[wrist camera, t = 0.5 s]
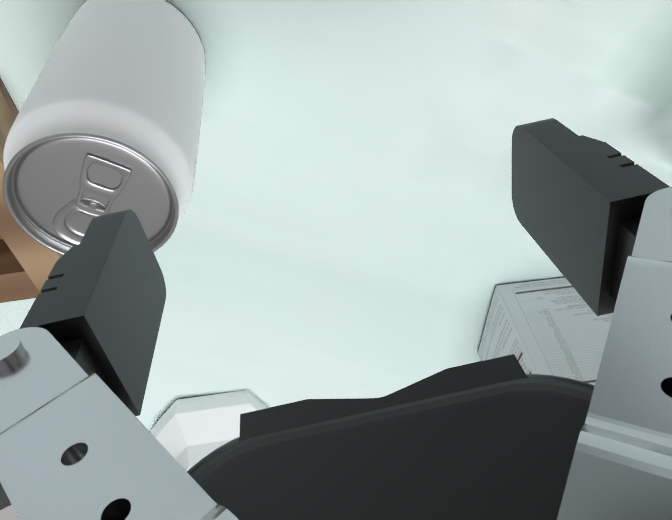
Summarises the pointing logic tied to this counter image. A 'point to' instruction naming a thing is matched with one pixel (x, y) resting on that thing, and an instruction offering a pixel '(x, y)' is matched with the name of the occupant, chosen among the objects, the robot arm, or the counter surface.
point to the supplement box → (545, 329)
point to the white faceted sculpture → (203, 424)
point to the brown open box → (18, 234)
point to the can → (109, 125)
